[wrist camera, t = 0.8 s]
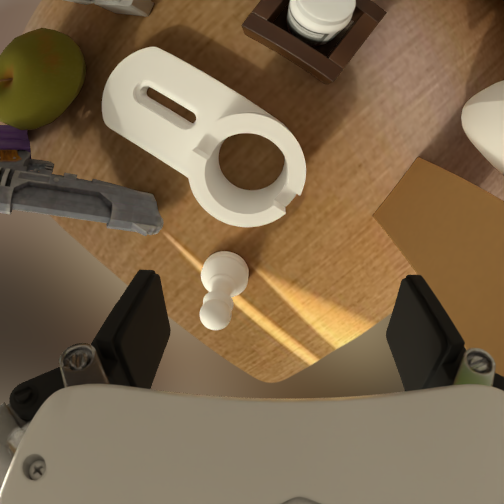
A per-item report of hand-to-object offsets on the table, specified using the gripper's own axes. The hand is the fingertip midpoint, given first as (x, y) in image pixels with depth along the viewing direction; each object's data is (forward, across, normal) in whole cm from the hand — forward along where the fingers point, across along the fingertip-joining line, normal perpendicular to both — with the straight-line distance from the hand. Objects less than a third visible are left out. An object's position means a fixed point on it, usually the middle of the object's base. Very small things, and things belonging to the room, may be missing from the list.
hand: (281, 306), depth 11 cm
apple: (+20, +22, -12) cm, 32 cm away
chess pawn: (+20, +5, +10) cm, 23 cm away
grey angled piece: (+20, +15, -19) cm, 32 cm away
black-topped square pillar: (+20, -16, +3) cm, 25 cm away
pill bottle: (+20, -3, -15) cm, 25 cm away
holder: (+20, -3, -15) cm, 25 cm away
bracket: (+20, +7, -5) cm, 22 cm away
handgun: (+23, +25, -5) cm, 34 cm away
